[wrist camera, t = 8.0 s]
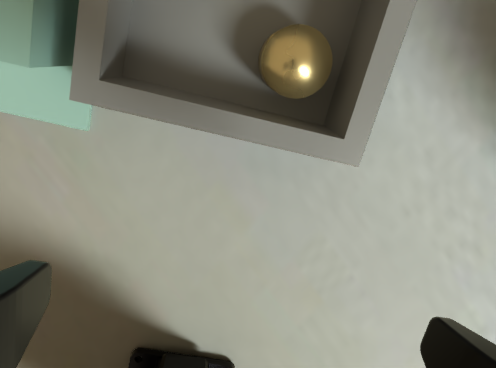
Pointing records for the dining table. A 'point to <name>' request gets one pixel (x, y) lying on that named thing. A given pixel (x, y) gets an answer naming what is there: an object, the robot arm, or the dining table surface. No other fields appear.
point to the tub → (239, 67)
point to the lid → (40, 61)
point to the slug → (295, 61)
